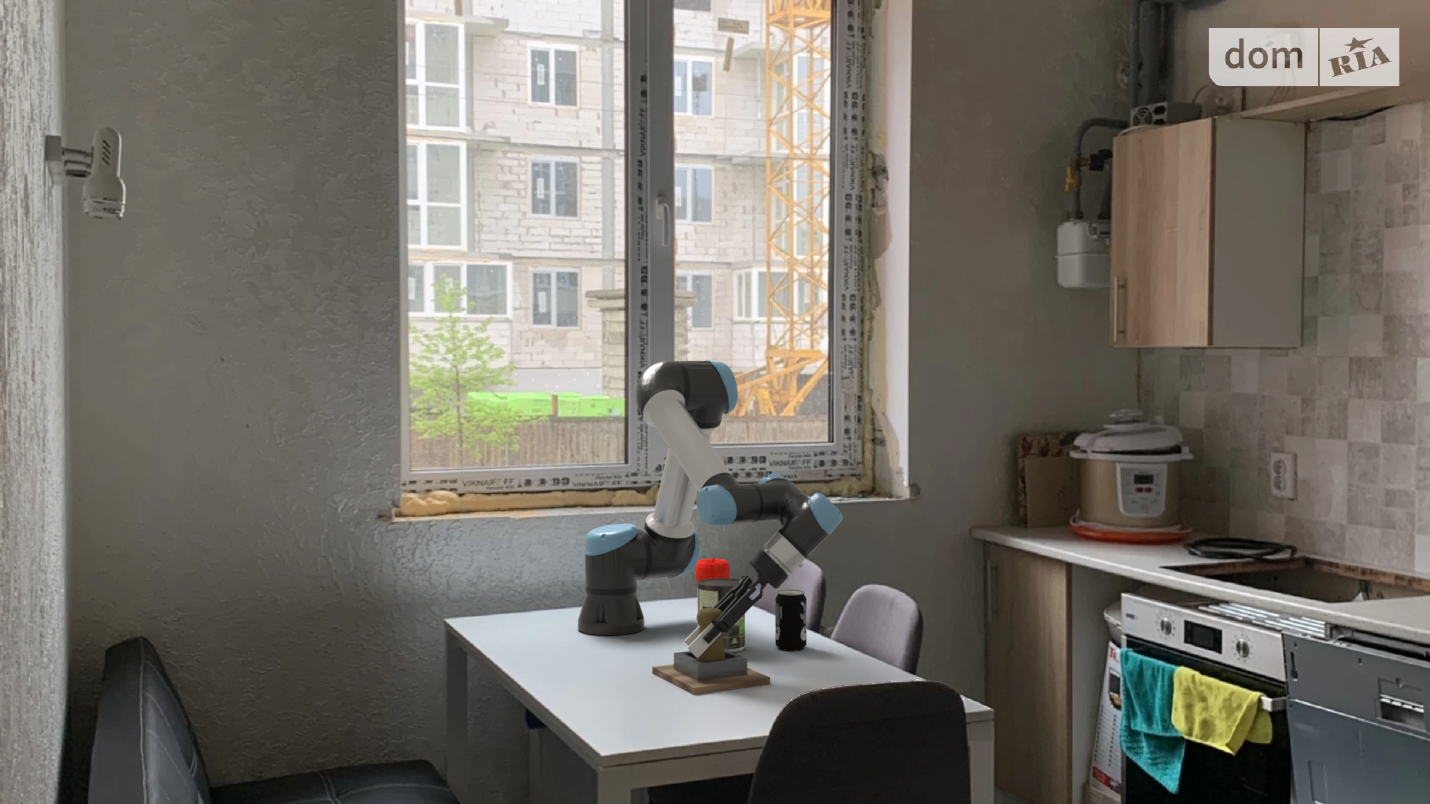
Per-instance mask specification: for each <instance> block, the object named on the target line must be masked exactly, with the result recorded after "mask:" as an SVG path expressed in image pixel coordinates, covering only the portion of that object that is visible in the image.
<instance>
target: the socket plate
mask: <svg viewBox="0 0 1430 804" xmlns="http://www.w3.org/2000/svg"><path fill="white" fill-rule="evenodd" d="M724 653H725V659H720V660H712V661H704V662H701V661H699V660H696V656H695V655H694V654H693V653H692V652H691V651H689V650H686V651H679V652H673V664H664V665H658V666H656V665H655V666H652V668H651V672H652V674H653V675H654V676H655V675H656V676H657V677H659V678H661V679H663V680H665V681H667V682H669V683H670V684H673V685H674V686H676V687H679V688H681V689H682V690H685V691H687V692H688V693H690V694H692V695H700V694H707V693H714V692H721V691H729V690H736V689H742V688H749V687H750V688H751V687H758V686H764V685H765V686H766V685H771V677H770V676H767V675H765V674H763V673H761V672H758V671H757V670H754V669H751V668H750V667H748V657H746V656H744V655H741V654H738V652H732V651H729V650H727V649H725V648H724Z"/></svg>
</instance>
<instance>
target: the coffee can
mask: <svg viewBox="0 0 1430 804" xmlns="http://www.w3.org/2000/svg"><path fill="white" fill-rule="evenodd" d="M739 580H740V579H739V578H738V579H737V578H730V577H729V578H713V579H704V580H700V581H698V582H696V587H697V589H696V590H697V591H696V592H697V601H696V602H697V613H698V612H699V610H701V609H705V608H713V607H714V606H715V605H716V604H717V603H718V602H719V601H720V600H721V599H722V598H723V597H724V596H725V595H726V594H727V593H728V592H729V591H730V590H731V589H732V588H733V587H734V586H735V585H736V583H737V582H738V581H739ZM698 626H699V624H698V623H697V627H698ZM722 638H723V645H724V648H725V649H727V650H729V651H732V652H734V653H738V652H741V651H744V650H745V649H746V613H745V614H744V615H743V616H742V617H741V618H740V619H739V620H738V621H737V622H736V623H735V624H734V626H733V627H732V628H731V629H730V630H729V631H728V632H727V633H726V632H723V633H722Z"/></svg>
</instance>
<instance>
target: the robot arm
mask: <svg viewBox="0 0 1430 804" xmlns="http://www.w3.org/2000/svg"><path fill="white" fill-rule="evenodd" d="M738 393H739V390H738V383H737V381H736V377H735V374H734V372H733V371H732V369H731V368H730V366H728V365H727V364H726V363H724V362H722V361H717V360H710V359H705V360H662V361H658V362H656V363H654V364H652V365H650V366H649V367H648V368H647V369H646V370H645V371H644V372H642V374H641V376H640V378H639V380H638V382H637V385H636V389H635V403H636V406H637V409H638V412H639V414H640V415H641V417H642V419H643V421H644V422H645V423H646V425H648V426H650V427H652V428H655V429H656V431H657V432H658V434H659V435H660V437H661V438H662V440H663V441H664V443H665V444H666V446H667V448H668V449H667V454H666V458H665V462H664V466H663V472H662V477H661V480H660V484H659V489H658V493H657V498H656V501H655V502H656V503H655V505H654V506H655V507H654V511H653V512H651V513H649V514H648V515H647V516H646V518H645V522H644V526H643V528H640V529H639V528H637V527H636V525H635V524H633V523H618V524H615V523H614V524H608V525H602V526H599V527H596V528H594V529H591V530H590V531H589V532H587V534H586V536H585V544H584V545H585V546H584V558H585V559H584V562H585V563H584V566H585V569H584V570H585V571H584V574H585V580H584V581H585V597H584V600H583V603H582V607H581V609H580V613H579V615H578V619H577V629H578V631H579V632H581V633H584V634H588V635H597V636H618V635H619V636H620V635H628V634H634V633H638V632H641V631H644V630H645V616H644V612H643V610H642V607H641V604H640V600H639V598H638V594H637V593H638V592H637V591H638V588H637V583H638V582H637V581H643V580H651V579H661V578H663V579H664V578H670V579H671V578H676V577H679V576H685V575H688V574H689V573H691V572H692V571H693V570H694V568H696V565H697V563H698V561H699V560H700V559H699V558H700V553H701V546H700V543H701V542H700V541H701V540H700V537H699V534H698V531H696V528H695V524H694V523H693V522H692V521H691V519H692V515H693V511H694V506H695V503H696V509H697V511H698V517H699V519H700V521H702V522H703V523H704V524H705V525H709V526H729V525H737V524H738V525H739V524H748V523H762V522H764V523H765V522H778V523H779V524H781V526H782V527H781V528H780V529H779V530H778V531H776V532H775V533H774V534H773V535H772V536H771V537H770V538H769V539H768V541H767V542H766V543H765V544H764V545H763V547H764V549H759V550H758V552H756V553H755V554H754V555H753V556H752V557H751V559H749V563H748V564H749V565H750V567H752V568H753V569H754V571H752V572H751V573H750V574H749V575H745V574H744V575H742V576H741V577H740V579H739V581H738V582H737V583H736V585H735V586H734V587H733V588H732V589H731V590H730V591H729V592H728V593H727V594H726V595H725V596H724V597H723V598H722V599H721V600H720V601H719V602H718V603H717V604H716V605H715V606H714V607H713V608H716V609H720V610H721V611H722V614H721V615H720V616H719V617H718V618H717V619H716V620H714V619H711V620H710V622H711V623H710V624H709V625H708V627H707V628H706V629H705V630H704V631H703V632H702V633H701V634H700V635H699V627H700V626H698V625H697V627H696V628H695V629H694V630H693V631H692V632H691V633H690V634H689V635H688V636H687V637H686V638H685V640H684V643H685V644H686V645H687V646H686V649H687V651H691V652H692V653H693V654H694V655H695V656H696V657H697V658H698V657H699V656H700V655H701V654H702V653H703V652H704V651H705V650H706V649H707V648H708V647H709V646H710V645H711V644H712V643H713V642H714V641H715V640H716V639H717V638H718V637H719V636H720V635H721V634H722V633H723V632H726V633H727V632H728V631H729V630H730V629H731V628H732V627H733V626H734V624H735V623H736V622H737V621H738V620H739V619H740V618H741V617H742V616H743V615H744V614H745V615H746V614H747V612H748V611H749V610H750V609H751V608H752V607H753V606H754V605H755V604H756V603H757V602H758V601H760V600H761V599H762V598H763V596H764V595H763V593H764V591H763V590H764V589H765V588H766V587H767V585H768V584H769V585H770V586H771V587H772V588H773V589H775V590H776V589H779V588H780V587H781V586H782V584H784V583H785V582H786V580H788V578H789V575H788V573H790V574H792V573H794V572H795V570H797V569H798V567H799V568H803V567H804V563H803V562H804V561H806V559H807V558H808V557H809V556H810V555H812V553H813V552H814V551H816V549H817V548H818V547H819V546H821V544H822V543H823V542H824V541H825V540H826V539H827V538H829V537H830V536H831V535H832V534H833V532H834V531H835V530H836V529H837V527H838V526H840V523H842V521H843V517H844V516H843V514H842V512H841V511H840V510H839V508H838V507H837V506H836V505H835V504H834V502H832V501H831V500H829V498H828V497H826V496H825V495H824V494H823V493H821V492H815V493H814V494H813V495H811V496H808V495H807V494H805V493H804V492H803V491H802V490H800V489H799V488H798V486H796V485H795V483H793V482H792V481H791V480H789V479H787V478H786V477H785V476H783V475H781V474H778V473H770V474H768V475H767V476H765V477H762V478H761V479H760V480H759V481H758V482H757V483H739V482H738V480H737V479H736V478H735V476H734V475H733V474H732V472H731V471H730V470H729V469H728V467H727V465H726V464H725V463H724V462H723V460H722V458H721V457H720V455H719V454H718V453H717V451H716V450H715V448H714V446H713V445H712V444H711V443H710V439H711V435H712V431H714V430H715V429H718V428H719V427H720V426H721V421H722V419H723V414H724V415H729V414H730V413H731V412H732V411H734V409H735V408H736V407H737V404H738V398H739V397H738ZM695 501H696V502H695ZM698 635H699V636H698Z"/></svg>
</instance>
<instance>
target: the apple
mask: <svg viewBox="0 0 1430 804" xmlns="http://www.w3.org/2000/svg"><path fill="white" fill-rule="evenodd" d="M694 571H695V573H694V576H695V582H696V583H697V582H698V581H700V580H704V579H713V578H729V579H730V573H731V570H730V564H729V562H728V560H727V559H724V558H723V559H721V558H714V557H713V558H703V559H702V558H701V559H699V560H698V562H697V564H696V566H695V570H694Z"/></svg>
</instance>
